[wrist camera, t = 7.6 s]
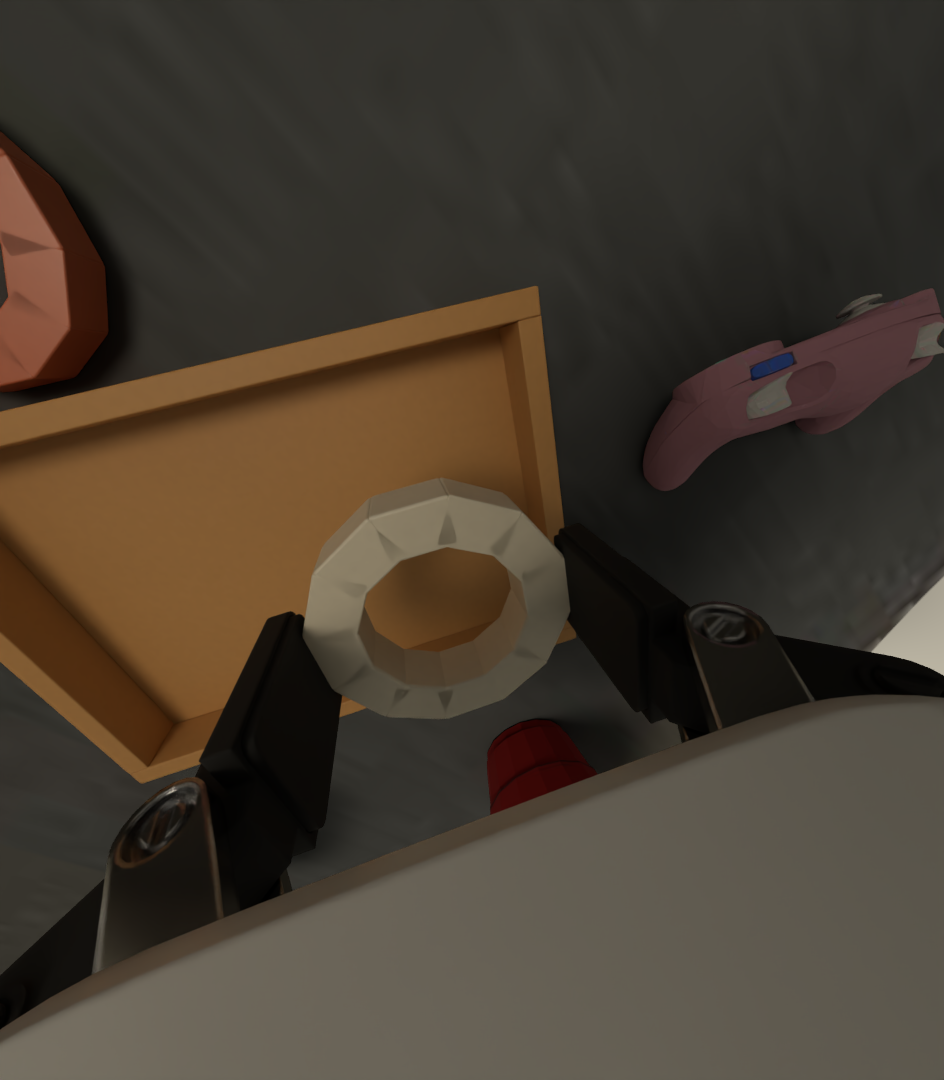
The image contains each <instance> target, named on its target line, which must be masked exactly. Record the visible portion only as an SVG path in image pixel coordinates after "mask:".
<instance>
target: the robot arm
mask: <svg viewBox="0 0 944 1080" xmlns="http://www.w3.org/2000/svg"><path fill="white" fill-rule="evenodd" d="M554 546H555V547H556V548H557V549H558V550H559V551H560V552H561V553H562V554H563V557H564V561H565V570H566V578H567V587H568V595H569V604H570V613H569V616H568V618H567V621H568V622H569V624H570V625H571V626H572V628H573V629H574V630H575V632H576V633H577V634H578V636H579V637H580V639H581V640H582V641H583V643H584V644H585V645H586V647H587V648H588V649H589V651H590V652H591V654H592V655H593V656H594V658H595V659H596V660H597V662H598V663H599V664H600V666H601V667H602V669H603V670H604V671H605V673H606V674H607V675H608V677H609V678H610V679H611V681H612V682H613V684H614V685H615V686H616V688H617V689H618V690H619V692H620V693H621V694H622V696H623V697H624V699H625V700H626V701H627V703H628V704H629V705H630V707H631V708H632V709H633V710H634V711H635V712H639V711H642V713H643V714H644V715H645V717H646V718H647V719H648V720H649V722H650V723H654V722H657V721H660V720H662V719H665V718H667V719H668V720H669V721H670V722H672V723H675V724H677V725H678V729H679V733H680V737H681V742H682V743H681V744H679V745H676V746H673V747H671V748H668V749H665V750H662V751H660V752H657V753H654V754H652V755H649V756H646V757H644V758H641V759H638V760H636V761H633V762H630V763H628V764H625V765H622V766H620V767H617V768H614V769H612V770H609V771H606V772H603V773H601V774H598V775H595V776H593V777H590V778H587V779H585V780H582V781H579V782H577V783H574V784H571V785H569V786H566V787H563V788H561V789H558V790H555V791H553V792H550V793H547V794H545V795H542V796H539V797H537V798H534V799H532V800H529V801H526V802H524V803H521V804H518V805H516V806H513V807H510V808H508V809H505V810H502V811H500V812H497V813H495V814H492V815H489V816H487V817H484V818H481V819H479V820H476V821H473V822H471V823H468V824H466V825H463V826H460V827H458V828H455V829H452V830H450V831H447V832H445V833H442V834H439V835H437V836H434V837H431V838H429V839H426V840H424V841H421V842H418V843H416V844H413V845H410V846H408V847H405V848H403V849H400V850H397V851H395V852H392V853H389V854H387V855H384V856H382V857H379V858H377V859H374V860H371V861H369V862H366V863H364V864H361V865H358V866H356V867H353V868H351V869H348V870H345V871H343V872H340V873H338V874H335V875H332V876H330V877H327V878H325V879H322V880H319V881H317V882H314V883H312V884H309V885H307V886H304V887H301V888H299V889H296V890H294V891H293V890H292V887H291V883H290V879H289V876H288V872H287V869H286V868H287V867H288V866H289V864H290V863H291V859H292V857H293V856H295V855H298V854H301V853H303V852H306V851H309V850H311V849H314V848H315V846H316V839H317V833H318V829H319V828H322V827H323V826H324V823H325V820H326V813H327V806H328V798H329V791H330V783H331V776H332V769H333V761H334V754H335V746H336V739H337V731H338V724H339V716H340V709H341V702H342V695H341V694H339V693H337V692H335V691H334V689H332V688H331V686H330V684H329V682H328V681H327V679H326V677H325V675H324V674H323V672H322V670H321V669H320V667H319V665H318V663H317V662H316V660H315V658H314V656H313V655H312V653H311V651H310V649H309V648H308V646H307V644H306V643H305V641H304V639H303V636H302V633H303V627H304V621H305V618H304V617H303V615H301V614H297V615H296V614H295V613H294V612H292V611H289V612H286V613H282V614H279V615H276V616H273V617H270V618H268V619H267V620H266V622H265V624H264V626H263V629H262V631H261V633H260V635H259V637H258V639H257V641H256V643H255V645H254V647H253V649H252V651H251V653H250V655H249V658H248V660H247V662H246V664H245V666H244V668H243V670H242V672H241V674H240V676H239V678H238V680H237V682H236V684H235V686H234V689H233V691H232V693H231V695H230V697H229V699H228V701H227V703H226V705H225V707H224V709H223V711H222V713H221V715H220V718H219V720H218V722H217V724H216V726H215V728H214V730H213V732H212V734H211V736H210V738H209V740H208V742H207V744H206V747H205V749H204V751H203V753H202V755H201V757H200V759H199V762H200V763H201V765H200V767H199V770H198V772H197V774H196V776H195V777H194V778H185V779H182V780H179V781H176V782H174V783H172V784H170V785H169V786H167V787H165V788H163V789H162V790H160V791H159V792H157V793H156V794H155V795H153V796H152V797H151V798H150V799H148V800H147V801H146V802H145V803H144V804H143V805H142V806H141V807H140V808H139V809H138V810H137V811H136V812H135V813H134V814H133V815H132V816H131V817H130V818H129V820H128V821H127V822H126V823H125V825H124V826H123V827H122V828H121V830H120V831H119V833H118V835H117V837H116V838H115V840H114V842H113V844H112V846H111V849H110V852H109V856H108V860H107V867H106V874H105V879H103V880H102V881H101V882H100V883H99V884H98V885H97V886H96V887H95V888H94V889H93V890H92V891H91V892H90V893H88V894H87V895H86V896H85V897H84V898H83V899H82V900H81V901H80V902H79V903H78V904H77V905H76V906H74V907H73V908H72V909H71V910H70V911H69V912H68V913H67V914H66V915H65V916H64V917H63V918H62V919H60V920H59V921H58V922H57V923H56V924H55V925H54V926H53V927H52V928H51V929H50V930H49V931H48V932H46V933H45V934H44V935H43V936H42V937H41V938H40V939H39V940H38V941H37V942H36V943H35V944H34V945H32V946H31V947H30V948H29V949H28V950H27V951H26V952H25V953H24V954H23V955H22V956H21V957H20V958H19V959H17V960H16V961H15V962H14V963H13V964H12V965H11V966H10V967H9V968H8V969H7V970H6V971H5V972H3V973H2V974H1V975H0V1080H944V676H943V675H941V674H940V673H938V672H936V671H934V670H932V669H930V668H928V667H925V666H923V665H920V664H917V663H915V662H912V661H909V660H905V659H901V658H897V657H893V656H887V655H882V654H877V653H871V652H866V651H860V650H855V649H849V648H844V647H838V646H833V645H827V644H822V643H816V642H811V641H805V640H800V639H794V638H789V637H783V636H778V635H774V634H773V632H772V630H771V629H770V627H769V625H768V624H767V623H766V622H765V621H764V620H763V619H762V617H760V616H759V615H757V614H756V613H754V612H753V611H751V610H749V609H747V608H744V607H742V606H739V605H735V604H731V603H727V602H715V601H712V602H702V603H699V604H696V605H693V606H692V607H689V606H688V605H687V604H686V603H684V602H683V601H682V600H680V599H679V598H678V597H676V596H675V595H674V594H673V593H671V592H670V591H669V590H667V589H666V588H665V587H663V586H662V585H661V584H660V583H658V582H657V581H656V580H654V579H653V578H652V577H650V576H649V575H648V574H647V573H645V572H644V571H643V570H641V569H640V568H639V567H637V566H636V565H635V564H634V563H632V562H631V561H630V560H628V559H627V558H625V557H622V556H621V555H620V554H619V553H617V552H616V551H615V550H613V549H612V548H611V547H609V546H608V545H607V544H606V543H604V542H603V541H602V540H600V539H599V538H598V537H597V536H595V535H594V534H593V533H591V532H590V531H589V530H588V529H586V528H585V527H584V526H582V525H581V524H579V523H577V524H574V525H571V526H567V527H564V528H561V529H559V532H558V535H555V536H554Z"/></svg>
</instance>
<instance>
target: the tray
mask: <svg viewBox="0 0 944 1080" xmlns="http://www.w3.org/2000/svg"><path fill="white" fill-rule="evenodd" d="M540 314H541V311H540V302H539V293H538V287H537V286H533V287H529V288H524V289H520V290H516V291H512V292H507V293H503V294H499V295H495V296H490V297H486V298H482V299H478V300H473V301H469V302H465V303H461V304H456V305H452V306H448V307H444V308H439V309H435V310H431V311H427V312H422V313H418V314H414V315H410V316H405V317H401V318H397V319H392V320H388V321H384V322H380V323H375V324H371V325H367V326H363V327H358V328H354V329H350V330H346V331H341V332H337V333H333V334H329V335H324V336H320V337H316V338H312V339H307V340H303V341H299V342H295V343H290V344H286V345H282V346H278V347H273V348H269V349H265V350H261V351H256V352H252V353H248V354H244V355H239V356H235V357H231V358H227V359H222V360H218V361H214V362H210V363H205V364H201V365H197V366H193V367H188V368H184V369H180V370H176V371H171V372H167V373H163V374H158V375H154V376H150V377H146V378H141V379H137V380H133V381H129V382H124V383H120V384H116V385H112V386H107V387H103V388H99V389H95V390H90V391H86V392H82V393H78V394H73V395H69V396H65V397H61V398H56V399H52V400H48V401H44V402H39V403H35V404H31V405H27V406H22V407H18V408H14V409H10V410H5V411H1V412H0V662H1V663H2V664H3V665H5V666H6V667H7V668H8V669H9V670H10V671H11V672H13V673H14V674H15V675H16V676H17V677H18V678H20V679H21V680H22V681H23V682H24V683H25V684H26V685H28V686H29V687H30V688H31V689H32V690H33V691H35V692H36V693H37V694H38V695H39V696H40V697H41V698H43V699H44V700H45V701H46V702H47V703H48V704H49V705H51V706H52V707H53V708H54V709H55V710H56V711H58V712H59V713H60V714H61V715H62V716H63V717H64V718H66V719H67V720H68V721H69V722H70V723H71V724H72V725H74V726H75V727H76V728H77V729H78V730H79V731H81V732H82V733H83V734H84V735H85V736H86V737H87V738H89V739H90V740H91V741H92V742H93V743H94V744H95V745H97V746H98V747H99V748H100V749H101V750H102V751H104V752H105V753H106V754H107V755H108V756H109V757H110V758H112V759H113V760H114V761H115V762H116V763H117V764H118V765H120V766H121V767H122V768H123V769H124V770H125V771H127V772H128V773H130V775H131V776H133V777H134V778H135V779H136V780H137V781H138V782H140V783H145V782H148V781H151V780H154V779H157V778H160V777H163V776H166V775H169V774H172V773H175V772H178V771H181V770H184V769H187V768H190V767H193V766H196V765H199V764H201V763H200V762H199V759H200V757H201V755H202V753H203V751H204V749H205V747H206V744H207V742H208V740H209V738H210V736H211V734H212V732H213V730H214V728H215V726H216V724H217V722H218V720H219V718H220V715H221V713H222V711H223V709H224V707H225V705H226V703H227V701H228V699H229V697H230V695H231V693H232V691H233V689H234V686H235V684H236V682H237V680H238V678H239V676H240V674H241V672H242V670H243V668H244V666H245V664H246V662H247V660H248V658H249V655H250V653H251V651H252V649H253V647H254V645H255V643H256V641H257V639H258V637H259V635H260V633H261V631H262V629H263V626H264V624H265V622H266V620H267V619H268V618H270V617H273V616H276V615H279V614H282V613H286V612H289V611H292V612H294V613H295V614H296V615H297V614H301V615H303V617H304V618H305V615H306V608H307V602H308V596H309V590H310V583H311V577H312V573H313V571H314V568H315V565H316V563H317V560H318V557H319V554H320V552H321V549H322V547H323V546H324V544H325V543H326V542H327V541H328V540H329V538H330V537H331V536H332V535H333V534H334V533H335V532H336V531H337V530H338V529H339V528H340V527H341V526H342V525H343V524H344V523H345V522H346V521H347V520H348V519H349V518H350V517H351V516H352V515H353V514H354V513H355V512H356V511H357V510H358V509H359V508H360V507H361V506H362V505H363V503H364V502H365V501H366V500H367V499H369V498H371V497H373V496H375V495H379V494H382V493H386V492H389V491H393V490H396V489H400V488H404V487H407V486H411V485H414V484H418V483H421V482H425V481H429V480H432V479H436V478H439V479H440V478H446V479H450V480H454V481H458V482H462V483H466V484H470V485H474V486H478V487H482V488H486V489H490V490H494V491H498V492H502V493H504V494H505V495H507V496H508V497H509V498H510V499H511V500H512V501H513V502H514V503H515V504H516V505H517V506H518V507H519V509H520V510H521V511H522V512H523V513H524V514H525V515H526V516H527V517H528V518H529V519H530V520H531V521H532V522H533V523H534V524H535V525H536V526H537V528H538V529H539V530H540V531H541V532H542V533H543V534H544V535H545V536H546V537H547V538H548V539H549V540H550V541H551V542H552V544H553V545H554V536H555V535H558V532H559V529H561V528H564V520H563V510H562V501H561V492H560V483H559V474H558V465H557V456H556V447H555V437H554V428H553V419H552V410H551V401H550V392H549V383H548V374H547V364H546V355H545V346H544V337H543V328H542V319H541V316H539V315H540ZM510 590H511V586H510V581H509V576H508V572H507V568H506V567H504V566H503V565H502V564H501V563H500V562H499V561H498V560H497V559H496V558H495V557H494V556H492V555H486V554H481V553H476V552H470V551H465V550H460V549H454V548H449V547H446V548H442V549H439V550H436V551H432V552H429V553H426V554H422V555H419V556H416V557H412V558H409V559H406V560H402V561H400V562H399V563H398V564H397V565H396V566H395V567H394V568H393V569H392V570H391V571H390V572H389V573H388V574H387V575H386V576H385V577H384V578H382V579H381V580H380V581H379V582H378V583H377V584H376V585H375V586H374V587H373V588H372V589H371V590H370V591H369V592H368V593H367V597H366V601H365V605H364V607H365V609H366V611H367V613H368V615H369V618H370V620H371V622H372V624H373V627H374V629H375V631H376V632H378V633H379V634H381V635H383V636H384V637H386V638H387V639H389V640H390V641H392V642H394V643H395V644H397V645H398V646H400V647H402V648H403V649H412V650H423V651H434V652H440V651H443V650H446V649H449V648H452V647H455V646H458V645H461V644H465V643H468V642H471V641H473V640H474V639H475V638H477V637H478V636H479V635H480V634H481V633H482V632H483V631H484V630H486V629H487V628H488V627H489V626H490V625H491V624H492V623H493V622H495V621H496V620H497V619H498V618H499V617H500V615H501V613H502V610H503V608H504V605H505V603H506V600H507V597H508V595H509V592H510ZM574 638H576V632H575V630H574V629H573V628H572V626H571V625H570V624H569V622H568V621H567V620H566V623H565V625H564V627H563V629H562V631H561V633H560V635H559V638H558V640H557V642H556V644H559V643H562V642H565V641H568V640H571V639H574ZM556 644H555V645H556ZM365 708H366V707H364V706H362V705H360V704H359V703H357V702H355V701H353V700H351V699H349V698H347V697H345V696H343V695H342V702H341V709H340V716H339V717H342V716H345V715H348V714H351V713H354V712H357V711H360V710H362V709H365Z"/></svg>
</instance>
